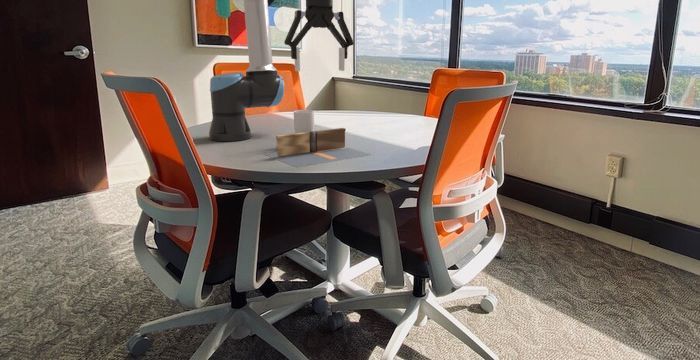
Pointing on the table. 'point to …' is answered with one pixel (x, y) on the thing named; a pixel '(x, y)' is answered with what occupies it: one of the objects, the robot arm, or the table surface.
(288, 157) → the card
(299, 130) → the mug
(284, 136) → the wooden board
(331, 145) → the base
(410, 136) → the table surface
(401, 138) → the table surface
